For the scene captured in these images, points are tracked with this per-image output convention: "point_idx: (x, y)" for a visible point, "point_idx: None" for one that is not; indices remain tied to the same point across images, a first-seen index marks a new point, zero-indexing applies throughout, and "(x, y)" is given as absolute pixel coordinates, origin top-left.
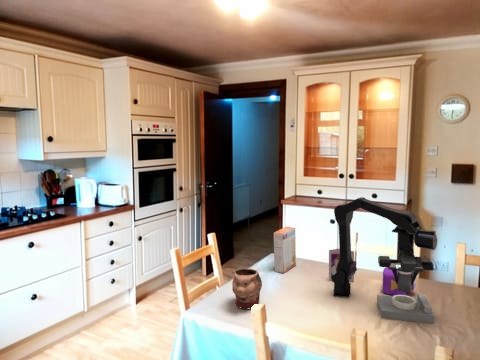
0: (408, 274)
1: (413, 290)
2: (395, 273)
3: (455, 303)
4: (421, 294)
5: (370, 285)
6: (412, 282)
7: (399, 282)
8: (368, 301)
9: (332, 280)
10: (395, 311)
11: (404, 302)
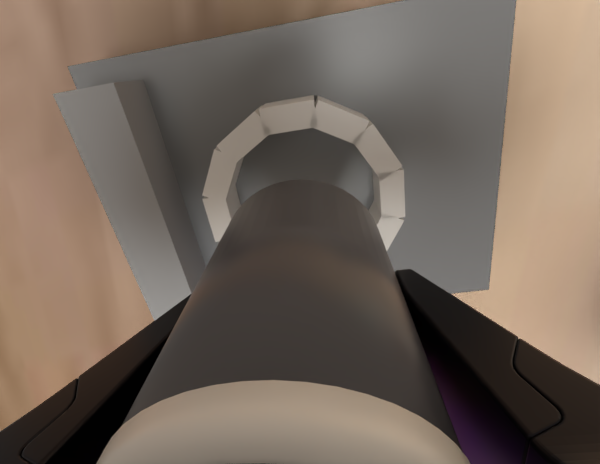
0: (167, 397)
1: None
2: (550, 401)
3: (58, 361)
4: None
5: None
6: (177, 313)
7: (378, 257)
8: (522, 250)
9: None
10: (380, 14)
11: None
